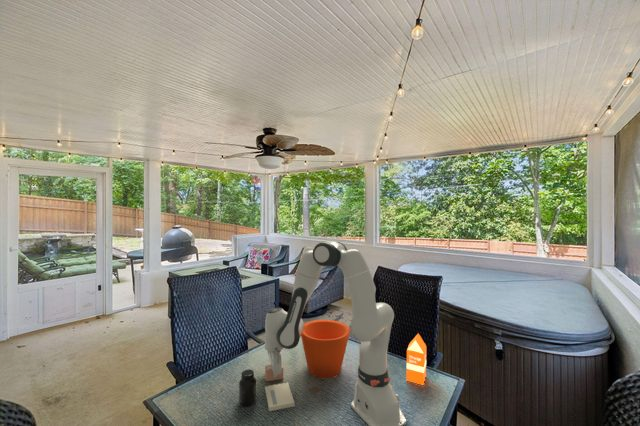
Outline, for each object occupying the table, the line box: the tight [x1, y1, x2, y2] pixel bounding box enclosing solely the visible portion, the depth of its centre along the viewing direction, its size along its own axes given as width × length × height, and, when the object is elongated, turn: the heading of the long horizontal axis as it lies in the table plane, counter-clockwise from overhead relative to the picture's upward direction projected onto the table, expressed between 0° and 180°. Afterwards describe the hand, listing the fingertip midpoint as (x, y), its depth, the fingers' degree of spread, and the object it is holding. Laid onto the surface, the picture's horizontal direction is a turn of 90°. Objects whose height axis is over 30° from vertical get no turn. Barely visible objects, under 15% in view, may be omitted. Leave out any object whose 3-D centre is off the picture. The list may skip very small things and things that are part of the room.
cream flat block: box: [264, 381, 295, 412], centre depth 115 cm, size 14×10×2 cm
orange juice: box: [406, 332, 427, 386], centre depth 130 cm, size 8×9×20 cm
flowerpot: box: [300, 319, 351, 380], centre depth 137 cm, size 25×25×20 cm
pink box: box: [264, 364, 284, 382], centre depth 129 cm, size 4×8×5 cm, turn 108°
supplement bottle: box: [238, 369, 257, 408], centre depth 112 cm, size 7×7×12 cm
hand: (274, 373), depth 129 cm, fingers closed on pink box, 4 cm apart
